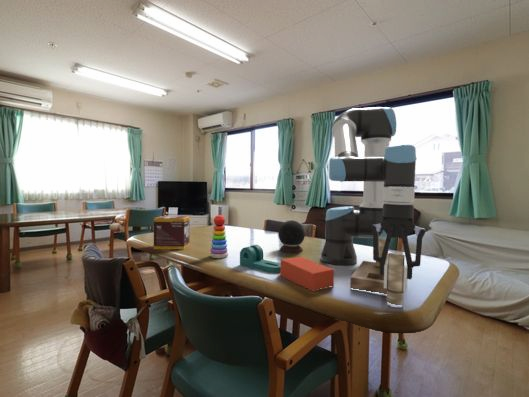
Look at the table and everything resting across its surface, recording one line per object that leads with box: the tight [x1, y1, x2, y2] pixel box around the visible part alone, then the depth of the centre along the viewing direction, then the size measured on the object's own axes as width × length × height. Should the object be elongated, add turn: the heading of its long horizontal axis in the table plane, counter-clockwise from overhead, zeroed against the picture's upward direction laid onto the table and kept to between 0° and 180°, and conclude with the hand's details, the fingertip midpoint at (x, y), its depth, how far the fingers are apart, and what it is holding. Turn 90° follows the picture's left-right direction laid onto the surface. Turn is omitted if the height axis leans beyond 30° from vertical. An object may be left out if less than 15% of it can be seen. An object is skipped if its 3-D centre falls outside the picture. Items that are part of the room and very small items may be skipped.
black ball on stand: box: [277, 220, 306, 254], centre depth 138 cm, size 13×13×15 cm
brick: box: [280, 256, 335, 292], centre depth 95 cm, size 18×9×6 cm, turn 30°
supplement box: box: [153, 215, 191, 250], centre depth 142 cm, size 10×15×16 cm
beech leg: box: [386, 252, 406, 305], centre depth 76 cm, size 4×4×14 cm
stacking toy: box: [210, 214, 229, 259], centre depth 125 cm, size 8×8×19 cm
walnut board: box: [349, 238, 389, 294], centre depth 93 cm, size 14×22×14 cm, turn 151°
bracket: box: [239, 244, 281, 274], centre depth 109 cm, size 18×7×8 cm, turn 53°
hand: (395, 288), depth 76 cm, fingers closed on beech leg, 4 cm apart
